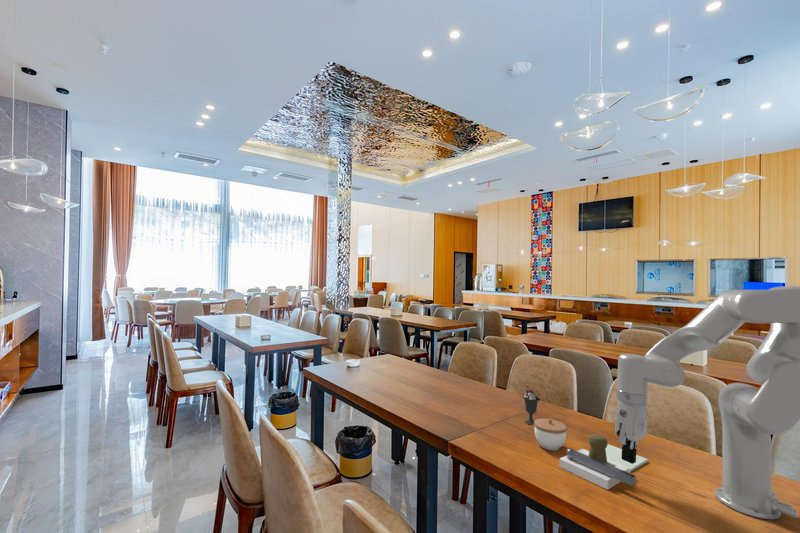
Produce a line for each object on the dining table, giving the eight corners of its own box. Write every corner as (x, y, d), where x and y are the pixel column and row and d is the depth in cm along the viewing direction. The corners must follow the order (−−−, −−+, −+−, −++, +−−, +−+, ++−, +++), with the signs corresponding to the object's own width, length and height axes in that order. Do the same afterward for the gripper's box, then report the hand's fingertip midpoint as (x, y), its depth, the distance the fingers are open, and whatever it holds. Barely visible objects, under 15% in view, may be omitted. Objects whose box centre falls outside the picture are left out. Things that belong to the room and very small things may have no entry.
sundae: (518, 420, 150) (519, 384, 151) (532, 418, 152) (532, 383, 153) (528, 426, 144) (529, 388, 144) (542, 424, 146) (543, 387, 146)
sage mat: (647, 461, 118) (647, 459, 118) (629, 472, 110) (629, 469, 110) (606, 445, 128) (606, 443, 128) (587, 454, 121) (587, 452, 121)
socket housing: (629, 476, 108) (629, 467, 108) (607, 489, 100) (607, 480, 101) (582, 456, 120) (582, 447, 120) (559, 466, 112) (559, 458, 112)
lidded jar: (532, 449, 124) (532, 421, 124) (534, 437, 134) (535, 411, 134) (566, 456, 119) (566, 427, 120) (566, 443, 129) (566, 417, 130)
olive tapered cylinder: (612, 478, 106) (612, 440, 107) (590, 475, 108) (590, 438, 108) (604, 468, 112) (605, 432, 113) (583, 465, 114) (584, 430, 114)
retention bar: (636, 484, 98) (636, 475, 99) (632, 486, 97) (632, 477, 97) (569, 455, 114) (569, 447, 114) (565, 456, 113) (565, 449, 113)
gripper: (634, 405, 97) (631, 474, 97) (656, 398, 106) (654, 460, 105) (605, 396, 103) (602, 461, 103) (629, 390, 112) (626, 449, 111)
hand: (628, 460), depth 104 cm, fingers closed
